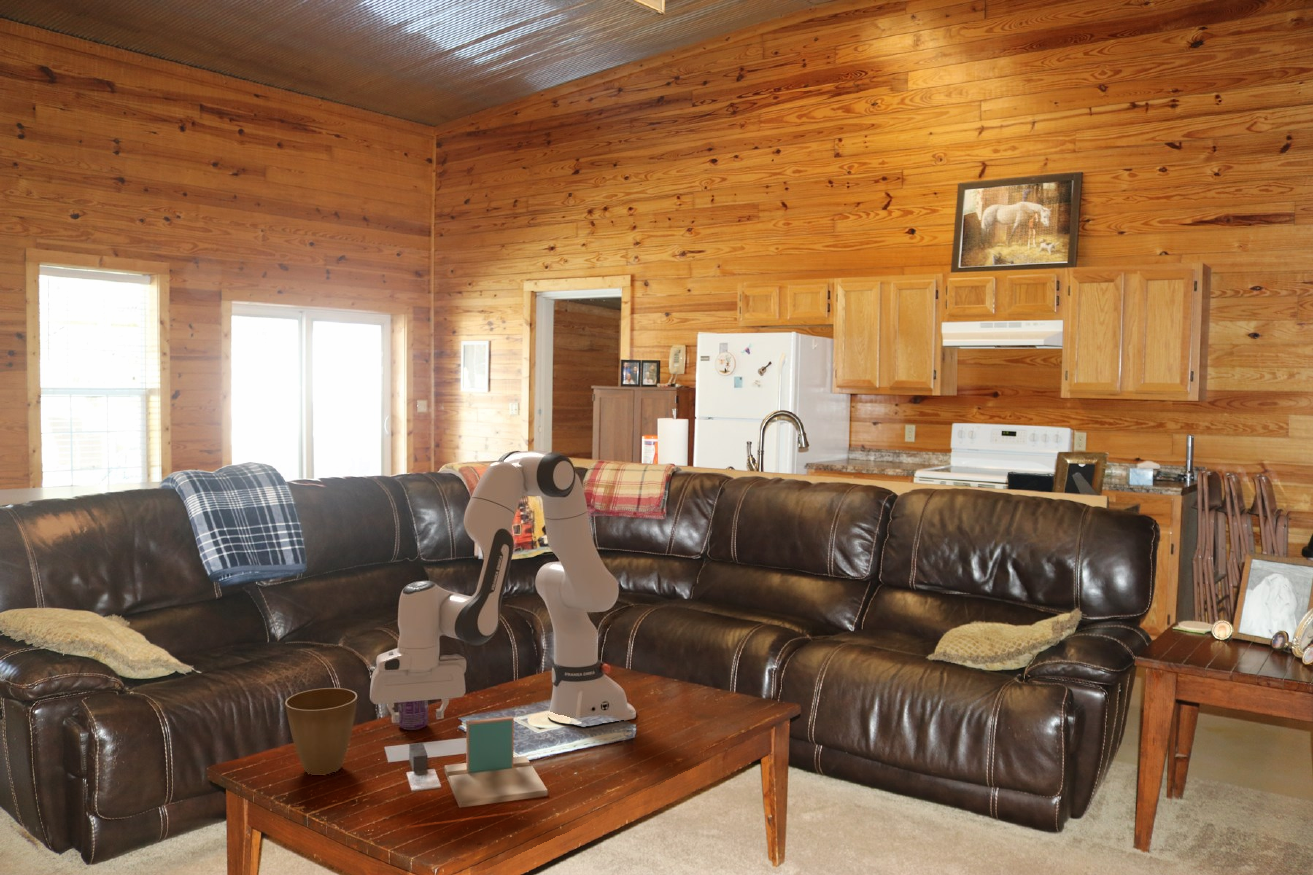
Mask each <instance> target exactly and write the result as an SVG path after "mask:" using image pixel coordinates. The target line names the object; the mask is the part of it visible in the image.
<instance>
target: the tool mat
mask: <svg viewBox="0 0 1313 875" xmlns="http://www.w3.org/2000/svg"><path fill="white" fill-rule="evenodd" d="M417 743H418V742H417ZM417 743H416V742H415V743H414V744H417ZM422 743H423V745H424V747H425V750H426V753H427V755H428V758H430V759H431V758H438V757H448V756H456V755H464V754H465V755H466V737H461V738H455V739H454V738H452V739H451V738H450V739H444V740H434V741H427V742H422ZM409 744H410V743H409ZM409 744H408V743H407V744H398V745H397V744H396V745H389V746H384V752H385V755H386V756H385V757H386V759H387V763H388V764H389V763H394V762H396V763H397V762H402V761H409ZM389 765H390V764H389Z"/></svg>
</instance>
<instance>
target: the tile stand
mask: <svg viewBox="0 0 1313 875" xmlns="http://www.w3.org/2000/svg"><path fill="white" fill-rule="evenodd" d="M530 764H531V763H530V760H529V758H528V757H527V755H522V756H513V768H510V769H502V770H494V771H485V772H477V773H469V774H466V762H464V763H463V762H462V763H454V764H453V763H452V764H446V765H444V774H445V775H446V779H447V781H448V783H449V786H450V789H451V791H452V793H453V796H454V798H455V800H456V803H457V805H458V807H459V808H466V807H473V806H482V805H487V804H489V805H490V804H497V803H505V802H510V801H511V802H512V801H519V800H525V799H527V800H528V799H533V798H535V799H536V798H542V797H548V788H547V787H546V786H545V784H544V782H543V781H542V779H541V778H540V776H539V774H538V773H537V771H536V770H535V768H534V766H533V765H530Z"/></svg>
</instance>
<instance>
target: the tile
mask: <svg viewBox="0 0 1313 875" xmlns="http://www.w3.org/2000/svg"><path fill="white" fill-rule="evenodd" d="M514 721H515V720H514V716H503V717H493V718H485V719H476V720H474V719H473V720H466V722H465V725H466V727H465V729H466V732H465V734H466V736H465V738H466V754H465V756H466V757H465V758H466V759H465V760H466V762H465V763H466V774H469V773H477V772H485V771H494V770H502V769H510V768H513V757H514V738H515V736H514V735H515V734H514V730H515V729H514V723H515V722H514Z"/></svg>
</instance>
